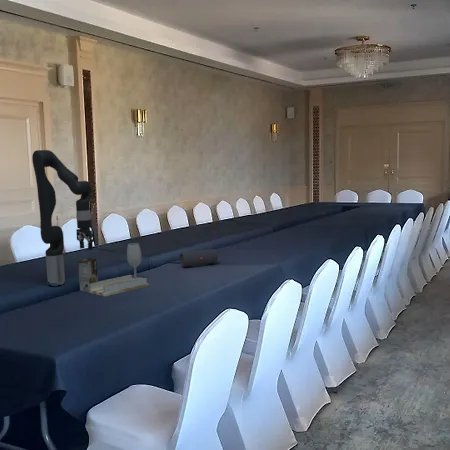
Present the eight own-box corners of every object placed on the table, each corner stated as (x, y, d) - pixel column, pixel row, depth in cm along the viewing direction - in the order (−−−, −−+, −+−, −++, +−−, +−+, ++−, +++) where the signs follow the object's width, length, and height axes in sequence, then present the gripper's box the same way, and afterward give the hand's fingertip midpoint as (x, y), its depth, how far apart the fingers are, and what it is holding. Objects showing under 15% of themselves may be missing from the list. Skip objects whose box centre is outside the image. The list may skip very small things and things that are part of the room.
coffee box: (88, 287, 304) (86, 258, 302) (99, 287, 302) (96, 258, 300) (79, 291, 295) (77, 261, 293) (90, 291, 293) (88, 261, 291)
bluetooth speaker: (184, 269, 341) (183, 253, 340) (179, 266, 350) (178, 251, 349) (218, 264, 350) (217, 249, 349) (212, 262, 359) (212, 247, 358)
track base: (87, 292, 292) (87, 283, 292) (131, 282, 312) (131, 274, 311) (104, 296, 281) (103, 288, 280) (148, 286, 300) (148, 277, 300)
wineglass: (143, 281, 312) (141, 244, 310) (127, 282, 311) (125, 245, 308) (143, 278, 321) (141, 242, 318) (128, 279, 319) (125, 243, 317)
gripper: (70, 219, 297) (73, 249, 298) (84, 220, 286) (87, 251, 288) (83, 217, 302) (85, 247, 304) (97, 218, 291) (99, 249, 293)
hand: (86, 249), depth 296 cm, fingers open, 8 cm apart
